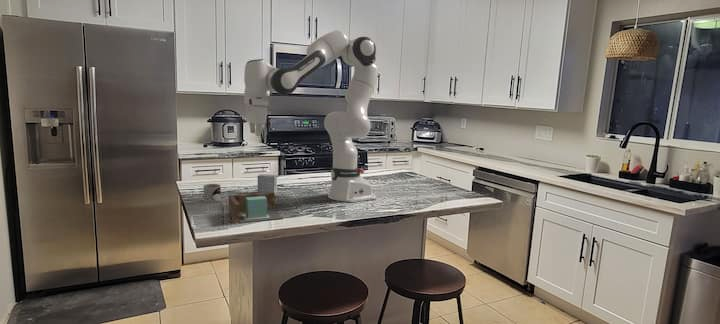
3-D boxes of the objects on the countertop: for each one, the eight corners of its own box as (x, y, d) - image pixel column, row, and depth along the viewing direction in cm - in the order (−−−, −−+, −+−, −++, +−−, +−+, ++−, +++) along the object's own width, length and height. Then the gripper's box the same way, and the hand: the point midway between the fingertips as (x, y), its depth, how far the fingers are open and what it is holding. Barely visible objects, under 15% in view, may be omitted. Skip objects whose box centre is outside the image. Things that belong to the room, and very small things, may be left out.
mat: (274, 210, 166) (274, 208, 166) (283, 219, 156) (283, 217, 156) (233, 213, 159) (233, 212, 159) (239, 223, 148) (239, 222, 148)
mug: (215, 203, 171) (215, 188, 170) (200, 202, 172) (200, 186, 171) (227, 197, 181) (227, 183, 180) (213, 196, 182) (212, 181, 181)
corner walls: (273, 209, 167) (273, 192, 166) (283, 219, 156) (283, 200, 154) (228, 213, 160) (228, 195, 158) (235, 223, 148) (235, 204, 147)
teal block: (245, 215, 156) (245, 197, 155) (264, 213, 159) (264, 196, 158) (248, 218, 153) (248, 200, 151) (266, 216, 156) (267, 198, 155)
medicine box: (276, 192, 193) (277, 174, 192) (274, 195, 189) (274, 176, 188) (260, 191, 194) (260, 173, 193) (257, 193, 190) (257, 175, 188)
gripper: (242, 98, 175) (242, 131, 177) (253, 101, 157) (253, 137, 159) (257, 99, 178) (257, 131, 180) (269, 101, 160) (269, 137, 162)
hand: (255, 134), depth 169 cm, fingers open, 8 cm apart
